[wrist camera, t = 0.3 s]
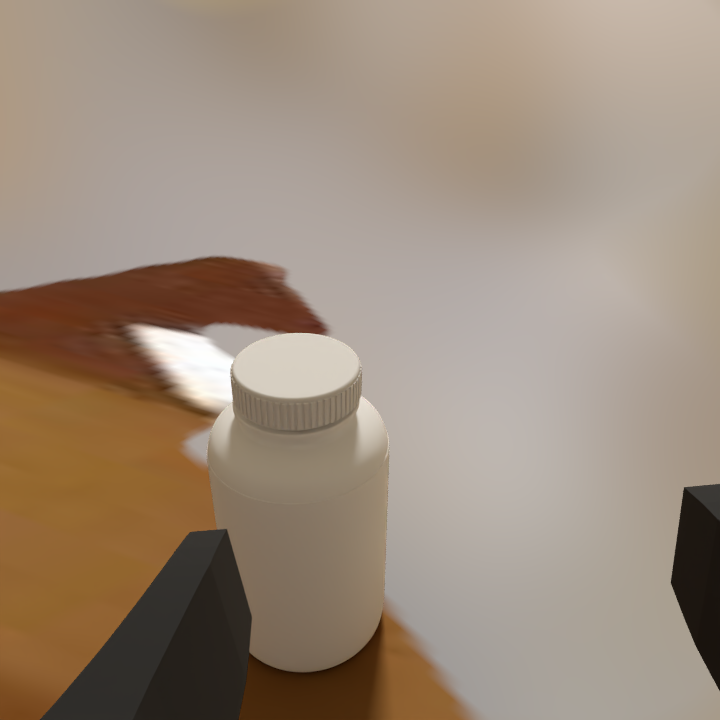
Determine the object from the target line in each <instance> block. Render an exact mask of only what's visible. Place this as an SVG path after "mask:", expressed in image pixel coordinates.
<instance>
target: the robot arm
mask: <svg viewBox="0 0 720 720" xmlns="http://www.w3.org/2000/svg"><path fill="white" fill-rule="evenodd" d="M671 584H672V587H673V590H674V592H675V595H676V598H677V600H678V603H679V605H680V608H681V611H682V613H683V616H684V618H685V621H686V623H687V626H688V628H689V630H690V633H691V635H692V638H693V640H694V643H695V645H696V647H697V649H698V651H699V653H700V655H701V656H702V659H703V661H704V663H705V664H706V666H707V668H708V670H709V672H710V674H711V676H712V677H713V679H714V681H715V683H716V685H717V687H718V689H719V690H720V484H715V485H704V486H693V487H684V491H683V499H682V506H681V513H680V520H679V527H678V535H677V542H676V549H675V556H674V564H673V571H672V578H671ZM251 624H252V615H251V612H250V608H249V605H248V601H247V598H246V594H245V590H244V587H243V583H242V580H241V576H240V573H239V569H238V566H237V562H236V559H235V555H234V552H233V548H232V545H231V541H230V538H229V534H228V531H227V529H219V530H208V531H197V532H190V533H189V534H188V535H187V536H186V538H185V539H184V540H183V541H182V543H181V544H180V545H179V547H178V548H177V549H176V551H175V552H174V554H173V555H172V556H171V558H170V559H169V560H168V562H167V563H166V564H165V566H164V567H163V569H162V570H161V571H160V573H159V574H158V575H157V577H156V578H155V579H154V581H153V582H152V583H151V585H150V586H149V588H148V589H147V590H146V592H145V593H144V594H143V596H142V597H141V598H140V600H139V601H138V602H137V604H136V605H135V606H134V607H133V609H132V610H131V611H130V613H129V614H128V615H127V616H126V618H125V619H124V620H123V622H122V623H121V624H120V625H119V627H118V628H117V629H116V631H115V632H114V633H113V634H112V636H111V637H110V638H109V639H108V641H107V642H106V643H105V645H104V646H103V647H102V648H101V650H100V651H99V652H98V653H97V654H96V656H95V657H94V658H93V659H92V660H91V661H90V663H89V664H88V665H87V666H86V667H85V669H84V670H83V671H82V672H81V673H80V674H79V676H78V677H77V678H76V679H75V680H74V682H73V683H72V684H71V685H70V686H69V687H68V689H67V690H66V691H65V692H64V693H63V694H62V696H61V697H60V698H59V699H58V700H57V701H56V703H55V704H54V705H53V706H52V707H51V708H50V709H49V710H48V711H47V712H46V714H45V715H44V716H43V717H42V718H41V719H40V720H238V718H239V713H240V709H241V704H242V699H243V694H244V689H245V684H246V678H247V668H248V658H249V648H250V636H251Z"/></svg>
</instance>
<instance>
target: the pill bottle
mask: <svg viewBox="0 0 720 720" xmlns="http://www.w3.org/2000/svg"><path fill="white" fill-rule="evenodd" d="M230 375H231V385H232V395H233V402H232V403H230V404H229V405H228V406H227V407H226V408H225V409H224V410H223V411H222V413H221V414H220V415H219V417H218V418H217V420H216V421H215V423H214V425H213V427H212V430H211V433H210V436H209V441H208V445H207V463H208V470H209V477H210V484H211V491H212V498H213V505H214V512H215V519H216V526H217V530H219V529H227V531H228V534H229V538H230V541H231V545H232V548H233V552H234V555H235V559H236V562H237V566H238V569H239V573H240V576H241V580H242V583H243V587H244V590H245V594H246V598H247V601H248V605H249V608H250V612H251V615H252V624H251V636H250V648H249V653H251V654H252V655H253V656H254V657H255V658H257V659H258V660H260V661H262V662H263V663H265V664H267V665H269V666H272V667H274V668H277V669H281V670H285V671H291V672H314V671H320V670H324V669H328V668H331V667H334V666H336V665H339V664H341V663H343V662H345V661H346V660H348V659H350V658H351V657H353V656H354V655H355V654H357V653H358V652H359V651H360V650H361V649H362V648H363V647H364V646H365V645H366V644H367V643H368V641H369V640H370V639H371V637H372V636H373V634H374V633H375V631H376V629H377V627H378V624H379V621H380V618H381V614H382V609H383V604H384V586H385V558H386V530H387V501H388V473H389V438H388V434H387V431H386V428H385V425H384V423H383V420H382V418H381V416H380V415H379V413H378V412H377V410H376V409H375V408H374V407H373V405H372V404H371V403H370V402H369V401H367V400H366V399H365V398H364V397H362V396H361V386H362V366H361V362H360V359H359V358H358V356H357V355H356V353H355V352H354V351H353V350H352V349H351V348H350V347H349V346H347V345H346V344H344V343H342V342H340V341H338V340H336V339H333V338H330V337H327V336H323V335H317V334H309V333H290V334H281V335H276V336H271V337H268V338H265V339H262V340H259V341H257V342H255V343H253V344H251V345H249V346H248V347H246V348H245V349H243V350H242V351H241V352H240V353H239V354H238V355H237V357H236V358H235V360H234V361H233V364H232V366H231V371H230Z"/></svg>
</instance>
